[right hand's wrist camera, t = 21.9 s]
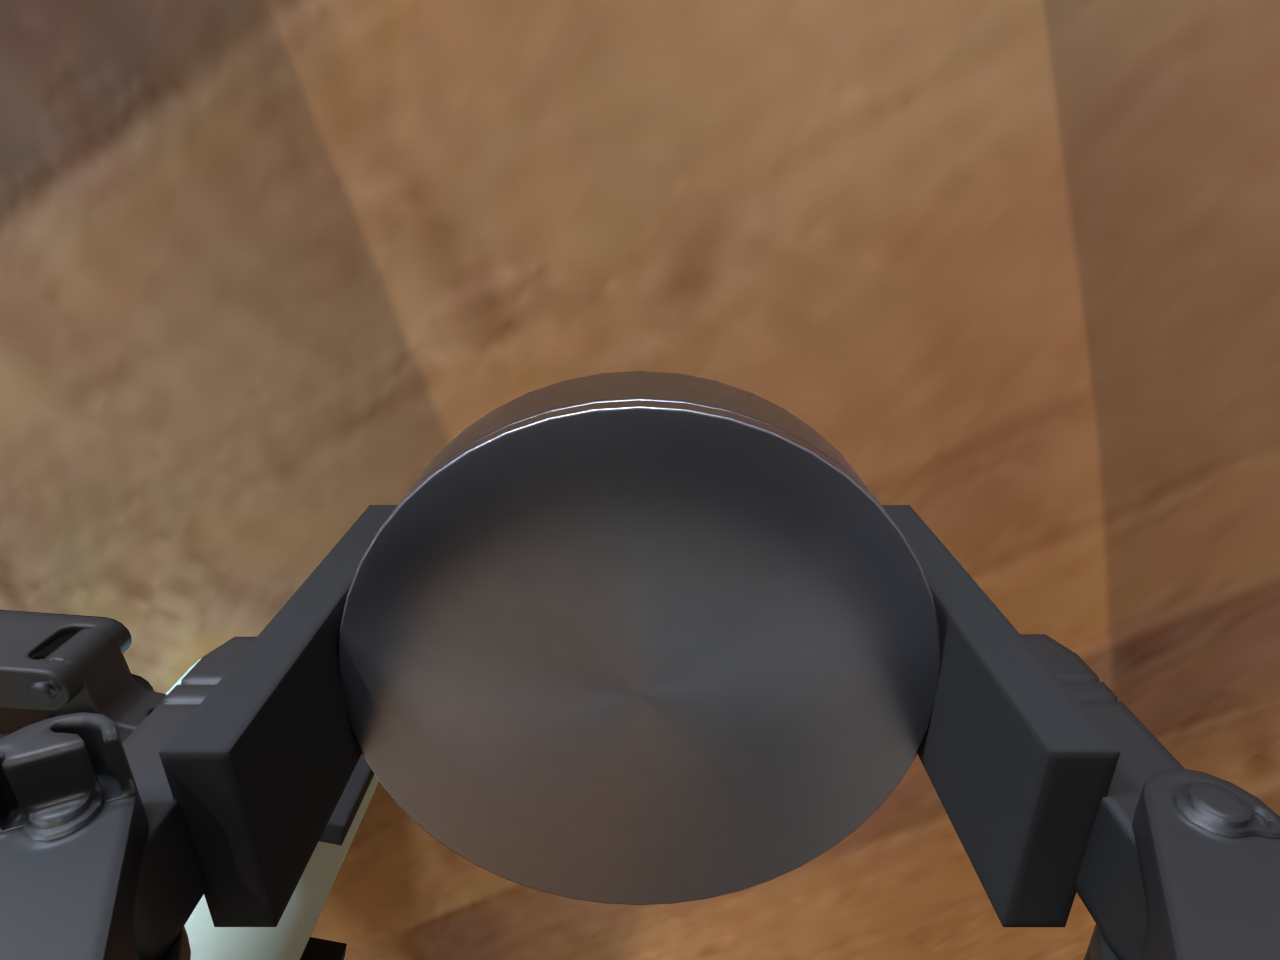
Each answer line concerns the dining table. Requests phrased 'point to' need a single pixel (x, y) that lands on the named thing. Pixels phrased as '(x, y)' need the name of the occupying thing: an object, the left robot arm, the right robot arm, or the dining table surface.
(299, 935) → the jar
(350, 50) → the dining table surface
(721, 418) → the lid
